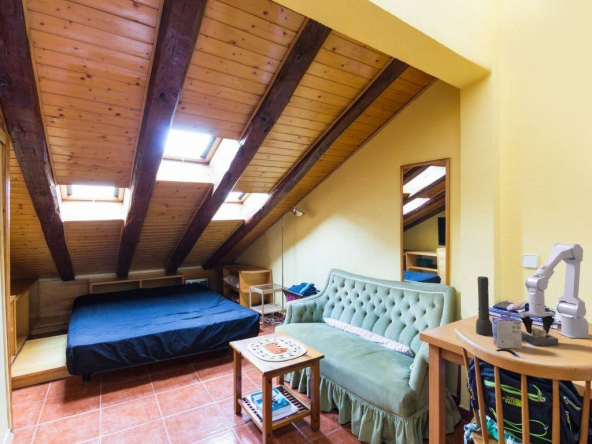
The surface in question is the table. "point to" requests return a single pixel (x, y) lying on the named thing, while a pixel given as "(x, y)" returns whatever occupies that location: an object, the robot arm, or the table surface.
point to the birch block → (538, 332)
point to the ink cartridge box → (507, 332)
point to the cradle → (540, 340)
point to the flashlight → (483, 308)
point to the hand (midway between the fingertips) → (537, 332)
